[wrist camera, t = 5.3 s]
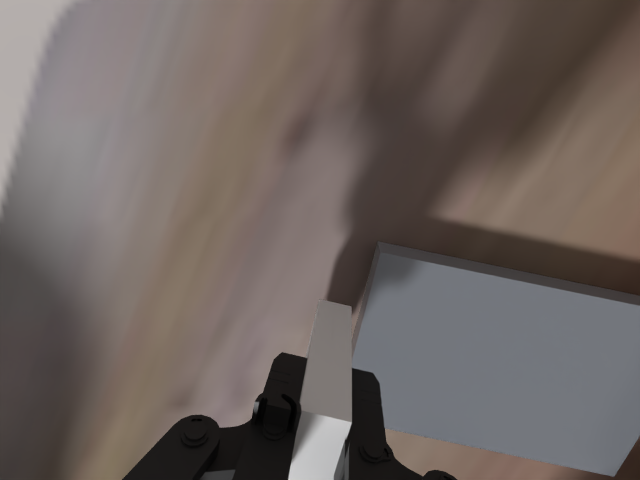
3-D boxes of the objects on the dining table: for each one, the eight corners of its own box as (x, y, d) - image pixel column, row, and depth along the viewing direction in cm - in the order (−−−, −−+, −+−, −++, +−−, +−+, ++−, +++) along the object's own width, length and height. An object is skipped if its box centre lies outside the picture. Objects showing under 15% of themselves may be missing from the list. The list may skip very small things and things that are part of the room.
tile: (337, 389, 19) (336, 418, 18) (376, 237, 17) (380, 252, 15) (587, 442, 19) (614, 476, 17) (670, 298, 16) (711, 320, 15)
